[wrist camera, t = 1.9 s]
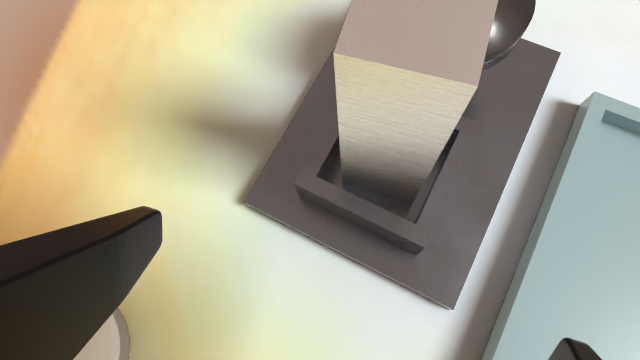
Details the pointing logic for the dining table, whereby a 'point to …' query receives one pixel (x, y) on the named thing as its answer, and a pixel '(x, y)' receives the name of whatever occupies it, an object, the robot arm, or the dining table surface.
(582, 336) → the tray
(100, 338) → the travel mug
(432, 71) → the pin
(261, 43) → the dining table surface
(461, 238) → the grey socket fixture
